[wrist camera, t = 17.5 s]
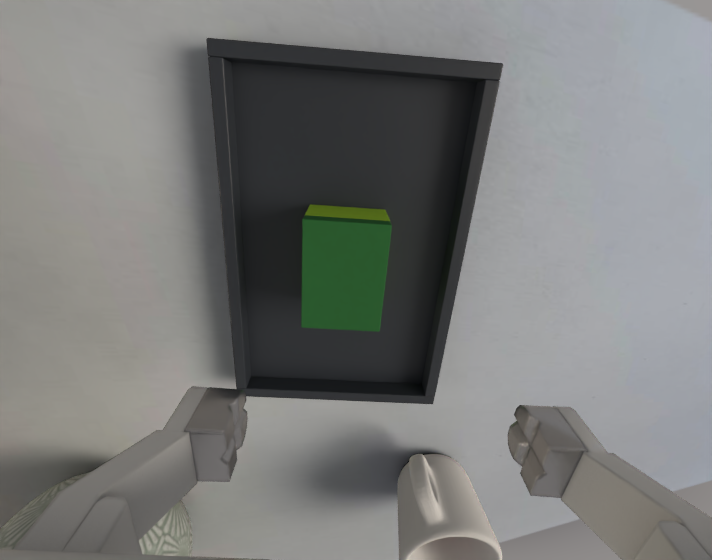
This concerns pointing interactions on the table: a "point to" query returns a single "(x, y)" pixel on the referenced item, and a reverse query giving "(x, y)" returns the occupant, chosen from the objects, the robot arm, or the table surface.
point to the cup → (441, 513)
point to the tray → (345, 205)
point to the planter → (160, 540)
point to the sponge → (344, 267)
